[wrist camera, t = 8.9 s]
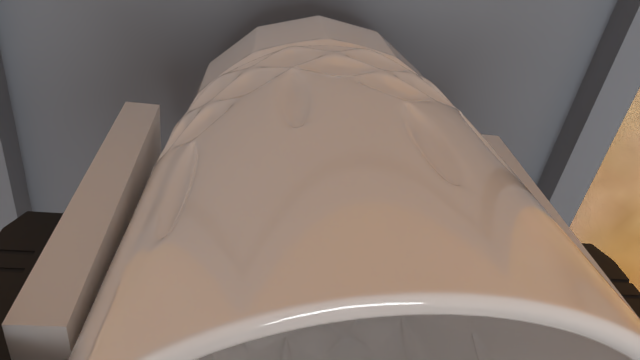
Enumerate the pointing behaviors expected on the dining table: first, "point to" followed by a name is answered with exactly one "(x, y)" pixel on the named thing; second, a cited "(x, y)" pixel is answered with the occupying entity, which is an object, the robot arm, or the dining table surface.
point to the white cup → (342, 225)
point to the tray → (295, 3)
